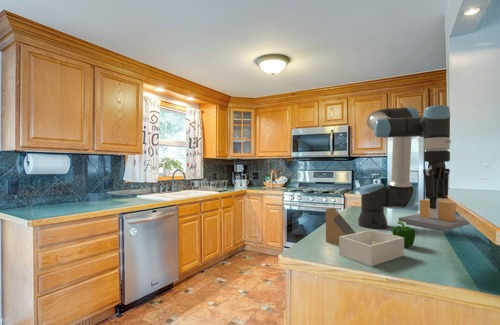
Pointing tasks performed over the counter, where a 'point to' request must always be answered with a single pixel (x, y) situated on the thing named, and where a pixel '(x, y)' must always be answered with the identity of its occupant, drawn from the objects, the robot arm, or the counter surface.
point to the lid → (442, 224)
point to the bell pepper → (405, 234)
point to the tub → (371, 247)
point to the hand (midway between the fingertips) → (437, 217)
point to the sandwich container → (336, 226)
